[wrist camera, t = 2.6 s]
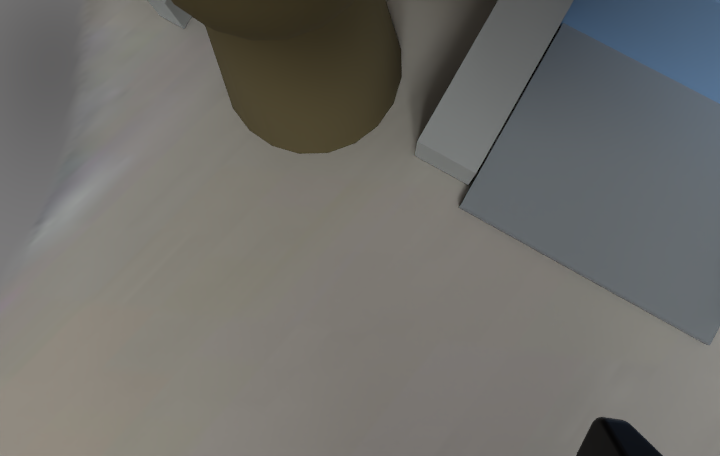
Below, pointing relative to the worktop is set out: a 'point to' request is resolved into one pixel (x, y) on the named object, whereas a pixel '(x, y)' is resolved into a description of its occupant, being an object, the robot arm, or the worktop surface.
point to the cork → (304, 67)
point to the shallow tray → (594, 143)
